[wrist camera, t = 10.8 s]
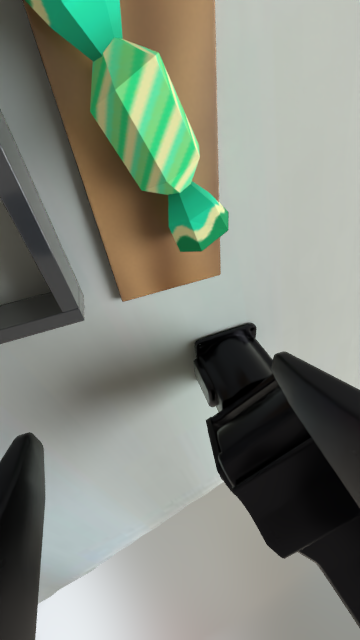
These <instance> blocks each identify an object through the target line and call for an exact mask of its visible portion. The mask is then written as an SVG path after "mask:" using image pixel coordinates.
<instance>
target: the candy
mask: <svg viewBox="0 0 360 640" xmlns="http://www.w3.org/2000/svg"><path fill="white" fill-rule="evenodd" d="M25 1H26V2H27V3H28V4H29V5H30V6H31V7H32V8H33V9H34V10H35V12H36V13H37V14H38V15H39V16H40V17H41V18H42V19H43V20H44V21H45V22H46V23H47V24H48V25H49V26H50V27H51V28H52V29H53V30H54V31H55V32H57V33H58V34H59V35H60V36H62V37H63V38H64V39H65V40H67V41H68V42H69V43H71V44H72V45H73V46H74V47H76V48H77V49H78V50H79V51H81V52H82V53H83V54H84V55H86V56H87V57H88V58H89V59H91V60H92V61H93V66H92V85H91V103H90V112H91V114H92V115H93V117H94V118H95V120H96V121H97V123H98V124H99V126H100V128H101V129H102V131H103V132H104V134H105V135H106V137H107V138H108V140H109V141H110V143H111V144H112V146H113V147H114V149H115V151H116V152H117V154H118V155H119V157H120V158H121V160H122V161H123V163H124V164H125V166H126V167H127V169H128V170H129V172H130V174H131V175H132V177H133V178H134V180H135V181H136V183H137V184H138V186H139V187H140V189H141V190H142V191H147V192H153V193H159V194H165V195H168V221H169V229H170V231H171V233H172V235H173V237H174V239H175V242H176V244H177V246H178V248H179V250H180V252H201V251H203V250H205V249H206V248H207V247H208V246H209V245H211V244H212V243H213V242H214V241H216V240H217V239H218V238H219V237H220V236H222V235H223V234H224V233H225V232H227V231H228V211H227V210H226V209H225V208H224V207H223V206H222V205H221V204H220V203H219V202H218V201H217V200H216V199H215V198H214V197H213V196H212V195H211V194H210V193H209V192H208V191H206V190H205V189H203V188H202V187H200V186H199V185H197V184H196V183H194V182H193V181H192V179H193V176H194V173H195V170H196V167H197V164H198V161H199V159H200V153H199V144H198V142H197V139H196V137H195V135H194V133H193V130H192V128H191V126H190V123H189V121H188V119H187V116H186V114H185V112H184V110H183V107H182V105H181V103H180V100H179V98H178V96H177V93H176V91H175V89H174V86H173V84H172V82H171V80H170V77H169V75H168V73H167V70H166V68H165V66H164V63H163V61H162V59H161V57H160V54H159V52H156V51H153V50H151V49H148V48H145V47H143V46H140V45H137V44H135V43H132V42H129V41H127V40H124V39H123V36H122V23H121V11H120V0H25Z"/></svg>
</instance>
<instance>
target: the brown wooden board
mask: <svg viewBox="0 0 360 640" xmlns="http://www.w3.org/2000/svg"><path fill="white" fill-rule="evenodd" d="M22 1H23V4H24V7H25V10H26V13H27V16H28V19H29V22H30V25H31V28H32V31H33V34H34V37H35V40H36V43H37V46H38V49H39V52H40V55H41V58H42V61H43V64H44V67H45V70H46V73H47V76H48V79H49V82H50V85H51V88H52V91H53V94H54V97H55V100H56V103H57V106H58V109H59V112H60V115H61V118H62V121H63V124H64V127H65V130H66V133H67V136H68V139H69V142H70V145H71V148H72V151H73V154H74V157H75V160H76V163H77V166H78V169H79V172H80V175H81V178H82V181H83V184H84V187H85V190H86V193H87V196H88V199H89V202H90V205H91V208H92V211H93V214H94V217H95V220H96V223H97V226H98V229H99V232H100V236H101V239H102V242H103V245H104V248H105V251H106V254H107V257H108V260H109V263H110V266H111V269H112V272H113V275H114V278H115V281H116V284H117V287H118V290H119V293H120V296H121V299H122V301H123V302H124V301H128V300H131V299H135V298H138V297H142V296H146V295H149V294H153V293H156V292H160V291H164V290H167V289H171V288H174V287H178V286H181V285H185V284H189V283H192V282H196V281H199V280H203V279H207V278H210V277H214V276H217V275H220V274H221V273H220V237H219V238H218V239H217V240H216V241H214V242H213V243H212V244H211V245H209V246H208V247H207V248H206V249H205V250H203V251H201V252H180V250H179V248H178V246H177V244H176V242H175V239H174V237H173V235H172V233H171V231H170V229H169V221H168V195H165V194H159V193H153V192H147V191H142V190H141V189H140V187H139V186H138V184H137V183H136V181H135V180H134V178H133V177H132V175H131V174H130V172H129V170H128V169H127V167H126V166H125V164H124V163H123V161H122V160H121V158H120V157H119V155H118V154H117V152H116V151H115V149H114V147H113V146H112V144H111V143H110V141H109V140H108V138H107V137H106V135H105V134H104V132H103V131H102V129H101V128H100V126H99V124H98V123H97V121H96V120H95V118H94V117H93V115H92V114H91V112H90V103H91V85H92V66H93V61H92V60H91V59H89V58H88V57H87V56H86V55H84V54H83V53H82V52H81V51H79V50H78V49H77V48H76V47H74V46H73V45H72V44H71V43H69V42H68V41H67V40H65V39H64V38H63V37H62V36H60V35H59V34H58V33H57V32H55V31H54V30H53V29H52V28H51V27H50V26H49V25H48V24H47V23H46V22H45V21H44V20H43V19H42V18H41V17H40V16H39V15H38V14H37V13H36V12H35V10H34V9H33V8H32V7H31V6H30V5H29V4H28V3H27V2H26V1H25V0H22ZM120 11H121V23H122V36H123V39H124V40H127V41H129V42H132V43H135V44H137V45H140V46H143V47H145V48H148V49H151V50H153V51H156V52H159V54H160V57H161V59H162V61H163V63H164V66H165V68H166V70H167V73H168V75H169V77H170V80H171V82H172V84H173V86H174V89H175V91H176V93H177V96H178V98H179V100H180V103H181V105H182V107H183V110H184V112H185V114H186V116H187V119H188V121H189V123H190V126H191V128H192V130H193V133H194V135H195V137H196V139H197V142H198V144H199V153H200V159H199V161H198V164H197V167H196V170H195V173H194V176H193V179H192V181H193V182H194V183H196V184H197V185H199V186H200V187H202V188H203V189H205V190H206V191H208V192H209V193H210V194H211V195H212V196H213V197H214V198H215V199H216V200H217V201H218V202H219V176H218V127H217V79H216V30H215V0H120Z"/></svg>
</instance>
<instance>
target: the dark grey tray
mask: <svg viewBox="0 0 360 640" xmlns="http://www.w3.org/2000/svg"><path fill="white" fill-rule="evenodd" d="M0 198H1V200H2V202H3V203H4V205H5V207H6V209H7V211H8V213H9V215H10V216H11V218H12V220H13V222H14V224H15V226H16V227H17V229H18V231H19V233H20V235H21V237H22V239H23V240H24V242H25V244H26V246H27V248H28V250H29V252H30V253H31V255H32V257H33V259H34V261H35V263H36V264H37V266H38V268H39V270H40V272H41V274H42V276H43V277H44V279H45V281H46V283H47V285H48V287H49V289H50V290H51V293H47V294H43V295H39V296H35V297H31V298H28V299H24V300H20V301H16V302H12V303H8V304H5V305H1V306H0V344H3V343H6V342H10V341H13V340H17V339H20V338H24V337H27V336H31V335H34V334H38V333H41V332H45V331H48V330H52V329H55V328H59V327H63V326H66V325H70V324H73V323H77V322H80V321H84V295H83V293H82V291H81V289H80V286H79V284H78V282H77V280H76V277H75V275H74V273H73V271H72V268H71V266H70V264H69V262H68V259H67V257H66V255H65V253H64V250H63V248H62V246H61V244H60V242H59V239H58V237H57V235H56V233H55V230H54V228H53V226H52V224H51V221H50V219H49V217H48V215H47V212H46V210H45V208H44V206H43V203H42V201H41V199H40V197H39V195H38V192H37V190H36V188H35V186H34V183H33V181H32V179H31V177H30V174H29V172H28V170H27V168H26V165H25V163H24V161H23V159H22V156H21V154H20V152H19V150H18V147H17V145H16V143H15V141H14V139H13V136H12V134H11V132H10V130H9V127H8V125H7V123H6V121H5V118H4V116H3V114H2V112H1V109H0Z"/></svg>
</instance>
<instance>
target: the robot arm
mask: <svg viewBox="0 0 360 640" xmlns="http://www.w3.org/2000/svg"><path fill="white" fill-rule="evenodd" d="M255 337H256V326H255V325H254V324H253V323H250V324H247V325H244V326H240V327H237V328H234V329H231V330H228V331H225V332H222V333H218V334H215V335H212V336H209V337H206V338H203V339H200V340H197V341H196V342H195V353H196V359H195V360H194V368H195V376H196V378H197V380H198V382H199V385H200V387H201V389H202V391H203V393H204V395H205V398H206V400H207V402H208V404H209V406H211V407H214V406H216V407H217V410H218V412H219V413H217V414H216V415H214V416H213V417H210V418H209V419H207V420H206V423H207V428H208V433H209V438H210V442H211V446H212V450H213V455H214V459H215V463H216V467H217V471H218V473H219V474H220V477H221V479H222V480H223V481H224V482H225V483H226V485H227V486H228V488H229V489H230V490H231V491H232V492H233V493H234V494H235V495H236V496H237V497H238V498H239V500H240V501H241V502H242V503H243V505H244V506H245V508H246V509H247V510H248V512H249V513H250V515H251V517H252V518H253V520H254V522H255V524H256V525H257V527H258V529H259V531H260V533H261V535H262V536H263V538H264V540H265V542H266V544H267V545H268V546H269V547H270V548H271V549H272V550H273V551H274V552H276V553H277V554H278V555H279V556H280V557H282V558H286V557H288V556H290V555H292V554H294V553H296V552H298V553H300V554H302V555H303V556H305V557H307V558H309V559H310V560H312V561H313V562H315V563H316V564H317V565H318V566H319V568H320V569H321V570H322V572H323V573H324V575H325V576H326V578H327V579H328V581H329V582H330V584H331V585H332V587H333V588H334V590H335V591H336V593H337V594H338V596H339V597H340V599H341V600H342V602H343V604H344V605H345V607H346V608H347V609H348V611H349V613H350V614H351V615H352V617H353V619H354V620H355V622H356V623H357V625H358V626H359V628H360V390H359V389H357V388H355V387H353V386H351V385H349V384H347V383H345V382H343V381H341V380H339V379H337V378H336V377H334V376H332V375H330V374H328V373H326V372H324V371H322V370H320V369H318V368H316V367H314V366H312V365H310V364H308V363H307V362H305V361H303V360H301V359H299V358H297V357H295V356H293V355H291V354H289V353H287V352H280V353H277V354H275V355H274V358H273V360H272V358H271V357H270V356H269V355H268V353H267V352H266V351H265V350H264V349H263V347H262V346H261V345H260V344H259V342H258V341H257V340H256V339H255ZM200 344H201V345H200ZM44 510H45V473H44V449H43V445H42V443H41V442H40V441H39V440H38V439H37V438H36V437H35V436H34V435H33V434H32V433H30V432H29V433H25V434H22V435H19V436H17V437H16V438H15V439H14V441H13V442H12V444H11V446H10V447H9V449H8V450H7V452H6V453H5V455H4V457H3V458H2V460H1V461H0V640H35V633H36V619H37V605H38V592H39V578H40V565H41V551H42V537H43V523H44Z"/></svg>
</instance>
